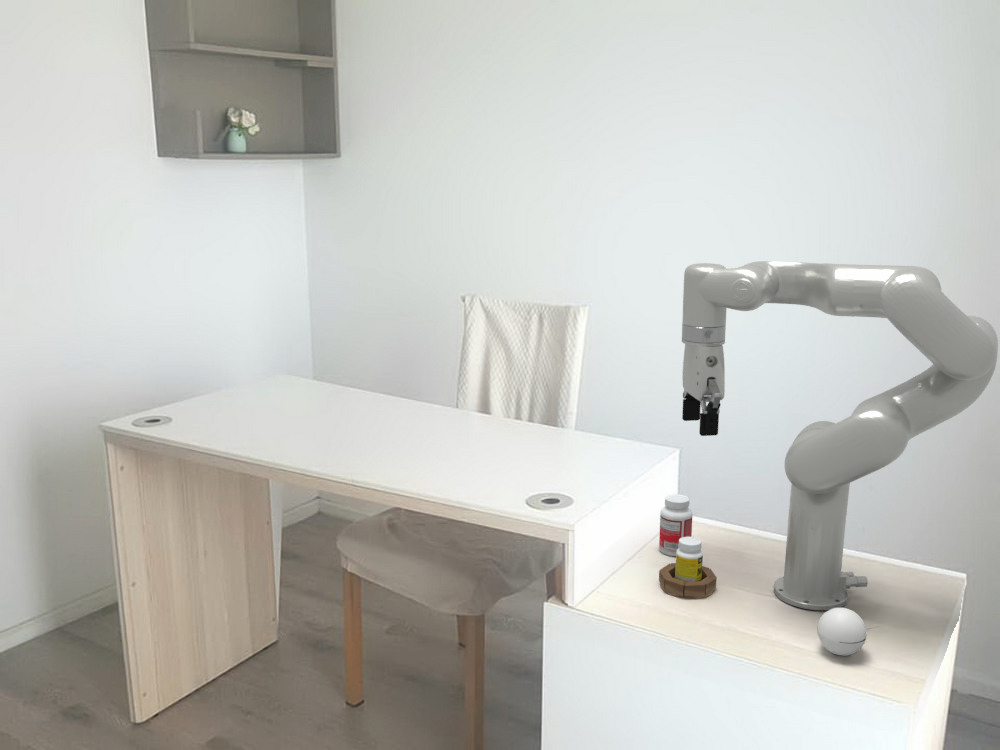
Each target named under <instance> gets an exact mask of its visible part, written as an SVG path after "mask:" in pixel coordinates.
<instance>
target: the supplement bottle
mask: <svg viewBox="0 0 1000 750" xmlns="http://www.w3.org/2000/svg"><path fill="white" fill-rule="evenodd" d="M703 557H704V552H703V551H702V539H700V538H698V537H695V536H691V537H682V538H680V539H679V548H678V549H677V551H676V556H675V563H676V569H675V579H678V580H681V581H684V582H697V581H702V566H703V559H704V558H703Z"/></svg>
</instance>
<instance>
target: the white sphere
mask: <svg viewBox="0 0 1000 750" xmlns="http://www.w3.org/2000/svg"><path fill="white" fill-rule="evenodd" d="M875 628H880V626H874V627H873V629H875ZM871 629H872V627H870V628H868V630H871ZM817 636H818V638H819V641H820V643H821V645H822V646H823V647H824V648H825V649H826V650H827V651H828V652H830V653H831V654H832V653H833V654H834V655H837V656H851V655H853V654H855V653H857V652H859V651H860V650H861V649H862V647H864V645H865V643H866V640H867V637H868V636H867V626H866V624H865V623H864V620H863V619H862V617H861V616H859V614H858V613H857V612H855V611H854V610H851V609H849V608H846V607H840V608H833V609H830V610H826V611H825V612H824V613H823V614H822V616H820V618H819V620H818V624H817Z"/></svg>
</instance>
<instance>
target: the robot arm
mask: <svg viewBox="0 0 1000 750" xmlns="http://www.w3.org/2000/svg"><path fill="white" fill-rule="evenodd" d="M682 291H683V295H682V297H683V299H682V323H681V343H683V344H685V345H684V352H683V360H682V361H683V362H682V387H683V391H682V392H683V393H682V398H683V399H682V418H681V419H682V420H683V421H684V422H688V421H690V422H691V421H699V430H698V431H699V435H700V436H701V437H707V436H709V437H710V436H717V435H718V434H719V420H720V413H721V412H720V410H721V409H720V408H721V401H723V399H724V398H725V392H726V391H725V386H726V385H725V384H726V383H725V379H726V377H725V370H726V369H725V352H724V346H723V345H724V344H725V343H726V329H727V328H726V326H727V309H731V310H735V311H740V312H751V311H755V310H757V309H758V308H760V307H761V306H764V305H765V304H781V305H796V306H797V305H799V306H804V307H805V306H806V307H810V308H814V309H817V310H819V311H820V312H822V313H824V314H827V315H829V316H830V315H831V316H835V317H860V318H861V317H863V318H880V319H887V320H888V321H889V322H890V323H891V324H892V325H893V327H894V328H896V329H897V331H899V332H900V334H901V335H902V336H903V337H905V339H906V340H907V341H908V342H910V344H912V346H913V347H915V348H916V349H917V350H918V351H919V352H920V353H922V355H923V356H925V358H926V359H928V361H929V362H931V364H932V365H931V366H930V367H928V368H927V369H926V370H924V371H922V372H921V373H918V374H917V375H915V376H913V377H911V378H910V379H908V380H906V381H904V382H903V383H900V384H897V385H896V386H894V387H891V388H889V389H887V390H886V391H883V392H881V393H879V394H877V395H874V396H872V397H870V398H867V399H864V400H863V401H862V402H860V403H859V404H858V405H857V406H856V407H855V409H854V410H853V412H852V413H851V415H850V416H847V417H845V418H844V419H842V420H840V421H837V422H833V421H827V420H820V421H819V420H818V421H815V422H813V423H810V424H809V425H806V426H805V427H804V428H803V429H802V430H801V431H800V432H799V433H798V435H796V437H795V439H794V441H793V442H792V444H791V445H790V447H789V449H788V450H787V452H786V455H785V459H784V472H785V475H786V477H787V479H788V481H789V482H790V484H791V486H790V488H791V489H790V496H789V506H788V507H789V508H788V519H787V531H786V546H785V556H784V557H785V558H784V559H785V560H784V573H783V576H781V577H779V578H777V580H775V582H774V584H773V591H774V594H775V595H776V596H777V597H778V599H780V600H781V601H783V602H784V603H787V604H789V605H791V606H793V607H796V608H801V609H805V610H811V611H829V610H830V609H833V608H843V607H845V605H846V604H847V603H848V601H849V592H848V590H850V589H851V588H866V587H868V578H867V576H866V575H855V574H854V572H853V571H844V572H842V569H843V568H842V567H843V566H842V565H843V556H844V555H843V554H844V545H845V532H846V522H847V515H848V502H849V493H850V484H851V483H853V482H855V481H858V480H859V479H862V478H864V477H866V476H869V475H871V474H872V473H875V472H877V471H879V470H882V468H885V467H887V466H889V465H890V464H892V463H893V462H894V461H896V460H897V459H899V457H901V456H902V454H903V453H904V452H905V450H906V448H907V445H908V442H909V441H911V440H912V439H913V438H916V437H917V436H919V435H920V434H922V433H925V432H926V431H928V430H931V429H933V428H935V427H936V426H939V425H940V424H942V423H944V422H946V421H948V420H950V419H952V418H954V417H955V416H957V415H959V414H960V413H962V412H964V411H965V410H967V409H968V408H970V406H971V405H973V404H974V403H975V402H976V401H977V400H978V399H979V398H980V396H981V395H982V394H983V393H984V391H985V390H986V389H987V386H988V385H989V384H990V381H991V380H992V378H993V375H994V374H995V373H994V372H995V370H996V365H997V359H998V349H999V340H998V335H997V332H996V330H995V328H994V327H993V326H992V324H991V323H990V322H989V321H987V320H986V319H984V318H982V317H980V316H976V315H967V313H965V312H963V311H962V310H961V309H960V308H959V307H958V306H957V305H956V304H955V303H954V302H953V301H952V300H951V299H949V297H948V296H947V295H946V294H945V293H944V292H943V291H942V286H941V282H940V280H939V278H938V277H937V275H936V274H935V273H934V272H933V271H931V270H930V269H928V268H926V267H922V266H913V265H883V264H879V265H878V264H847V263H846V264H845V263H825V262H824V263H815V262H802V261H800V262H799V261H771V260H770V261H767V260H766V261H761V260H760V261H753V262H749V263H745V264H744V265H742V266H738V267H735V268H732V267H731V268H726V266H724V265H723V264H722V265H721V264H720V263H719V264H718V263H709V262H708V263H707V262H706V263H693V264H690V265H687V267H686V268H685V269H684V273H683V290H682Z"/></svg>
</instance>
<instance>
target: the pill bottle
mask: <svg viewBox="0 0 1000 750" xmlns="http://www.w3.org/2000/svg"><path fill="white" fill-rule="evenodd" d="M689 506H690V498H689V496H687V495H685V494H679V493H673V494H672V493H671V494H667V495H666V496H665V497H664V506H663V507H662V508H661V510H660V516H659V541H658V542H659V543H658V544H659V545H658V549H659V550H660V552H661V553H662V554H663V555H666V556H670V557H676V551H677V549H678V548H679V539H680V538H682V537H693V536H692V532H693V511H692V509H690V508H689Z"/></svg>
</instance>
